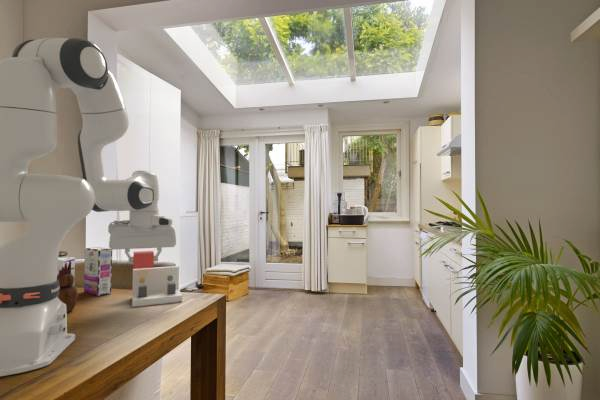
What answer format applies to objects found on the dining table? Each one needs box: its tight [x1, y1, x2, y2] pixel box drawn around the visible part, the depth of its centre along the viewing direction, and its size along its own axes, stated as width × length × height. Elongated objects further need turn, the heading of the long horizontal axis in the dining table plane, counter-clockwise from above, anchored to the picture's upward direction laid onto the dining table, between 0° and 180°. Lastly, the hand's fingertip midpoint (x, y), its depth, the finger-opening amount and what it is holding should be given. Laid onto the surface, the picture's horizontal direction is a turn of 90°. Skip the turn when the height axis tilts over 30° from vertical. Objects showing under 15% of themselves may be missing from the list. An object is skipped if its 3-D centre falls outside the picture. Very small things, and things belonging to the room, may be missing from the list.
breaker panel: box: [131, 265, 183, 308], centre depth 117 cm, size 12×15×10 cm
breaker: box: [138, 285, 147, 298], centre depth 113 cm, size 2×2×5 cm
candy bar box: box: [83, 246, 113, 297], centre depth 125 cm, size 11×5×16 cm, turn 55°
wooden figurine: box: [57, 261, 79, 313], centre depth 103 cm, size 7×6×15 cm
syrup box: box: [57, 256, 76, 286], centre depth 114 cm, size 6×6×14 cm
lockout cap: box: [132, 250, 155, 270], centre depth 114 cm, size 6×6×5 cm
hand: (143, 261), depth 114 cm, fingers closed on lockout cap, 6 cm apart
